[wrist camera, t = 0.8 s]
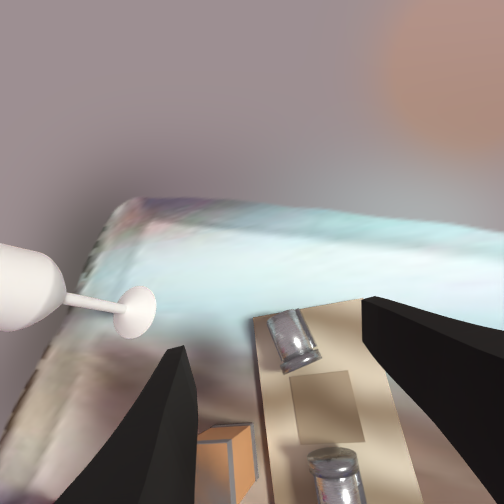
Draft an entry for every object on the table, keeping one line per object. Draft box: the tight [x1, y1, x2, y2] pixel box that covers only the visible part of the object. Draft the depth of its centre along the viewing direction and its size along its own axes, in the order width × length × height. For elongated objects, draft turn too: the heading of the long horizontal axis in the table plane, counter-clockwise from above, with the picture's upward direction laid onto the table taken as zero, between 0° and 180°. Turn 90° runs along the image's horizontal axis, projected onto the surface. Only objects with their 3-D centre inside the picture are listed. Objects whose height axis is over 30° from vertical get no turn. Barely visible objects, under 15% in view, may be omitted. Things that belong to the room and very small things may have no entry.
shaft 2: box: [307, 447, 368, 504], centre depth 19 cm, size 5×4×5 cm
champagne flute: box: [0, 243, 156, 339], centre depth 22 cm, size 7×7×24 cm
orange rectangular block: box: [194, 423, 259, 504], centre depth 21 cm, size 4×4×6 cm
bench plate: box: [253, 298, 424, 504], centre depth 22 cm, size 17×11×1 cm, turn 8°
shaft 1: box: [266, 309, 322, 375], centre depth 23 cm, size 5×4×5 cm
